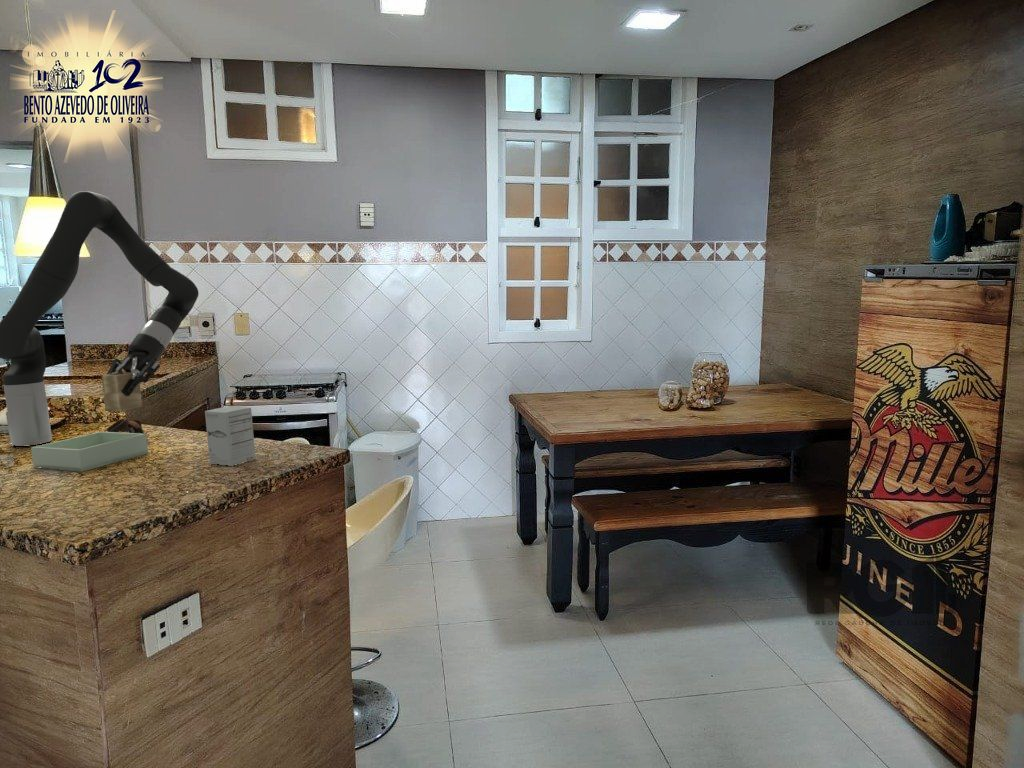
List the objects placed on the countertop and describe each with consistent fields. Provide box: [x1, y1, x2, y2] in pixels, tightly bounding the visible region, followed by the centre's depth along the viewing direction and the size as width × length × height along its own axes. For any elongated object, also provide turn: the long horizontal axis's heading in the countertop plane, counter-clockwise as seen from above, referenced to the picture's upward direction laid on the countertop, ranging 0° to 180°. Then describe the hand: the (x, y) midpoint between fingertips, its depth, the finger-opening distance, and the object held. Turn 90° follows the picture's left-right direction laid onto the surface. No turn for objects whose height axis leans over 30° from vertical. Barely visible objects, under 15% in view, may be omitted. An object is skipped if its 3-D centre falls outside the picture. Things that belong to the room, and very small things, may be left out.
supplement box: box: [204, 405, 256, 467], centre depth 158 cm, size 7×7×13 cm
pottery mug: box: [103, 417, 148, 441], centre depth 186 cm, size 12×10×8 cm
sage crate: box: [30, 431, 149, 472], centre depth 167 cm, size 16×18×5 cm
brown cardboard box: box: [101, 371, 143, 412], centre depth 172 cm, size 6×6×9 cm
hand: (115, 393), depth 170 cm, fingers closed on brown cardboard box, 5 cm apart
